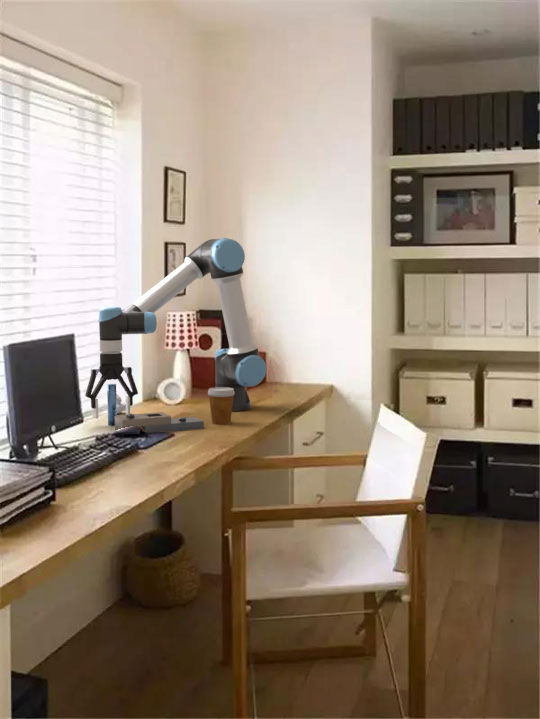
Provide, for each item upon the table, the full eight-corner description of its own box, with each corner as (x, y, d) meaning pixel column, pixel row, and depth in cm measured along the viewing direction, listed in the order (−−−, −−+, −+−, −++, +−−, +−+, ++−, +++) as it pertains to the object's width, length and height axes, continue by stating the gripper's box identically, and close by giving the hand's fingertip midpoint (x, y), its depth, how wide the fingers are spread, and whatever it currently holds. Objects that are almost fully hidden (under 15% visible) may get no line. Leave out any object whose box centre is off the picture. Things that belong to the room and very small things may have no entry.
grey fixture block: (194, 423, 301) (194, 407, 300) (203, 428, 293) (203, 411, 292) (115, 430, 289) (114, 413, 289) (122, 435, 281) (122, 417, 280)
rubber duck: (112, 412, 325) (112, 390, 324) (129, 412, 324) (129, 391, 323) (107, 414, 320) (106, 393, 319) (124, 415, 318) (123, 393, 317)
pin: (115, 423, 301) (114, 383, 300) (117, 425, 299) (117, 384, 297) (107, 424, 300) (106, 384, 299) (109, 426, 297) (108, 385, 296)
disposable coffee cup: (239, 421, 306) (239, 387, 304) (229, 426, 297) (228, 391, 295) (214, 420, 309) (213, 386, 307) (203, 424, 300) (203, 390, 298)
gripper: (140, 349, 305) (141, 412, 307) (74, 352, 295) (76, 417, 298) (146, 351, 298) (147, 415, 301) (80, 354, 288) (81, 420, 291)
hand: (112, 416), depth 299 cm, fingers open, 10 cm apart
